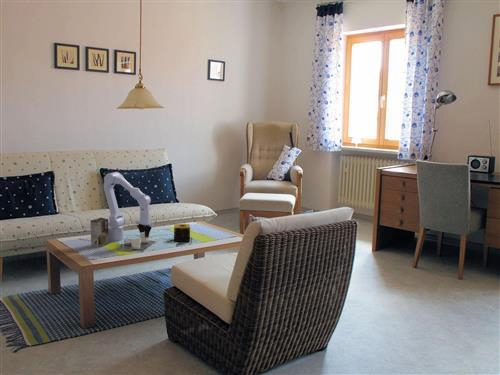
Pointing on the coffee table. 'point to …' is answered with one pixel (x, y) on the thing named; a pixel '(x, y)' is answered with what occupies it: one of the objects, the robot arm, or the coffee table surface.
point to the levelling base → (128, 247)
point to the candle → (181, 233)
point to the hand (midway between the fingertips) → (144, 236)
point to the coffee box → (99, 232)
